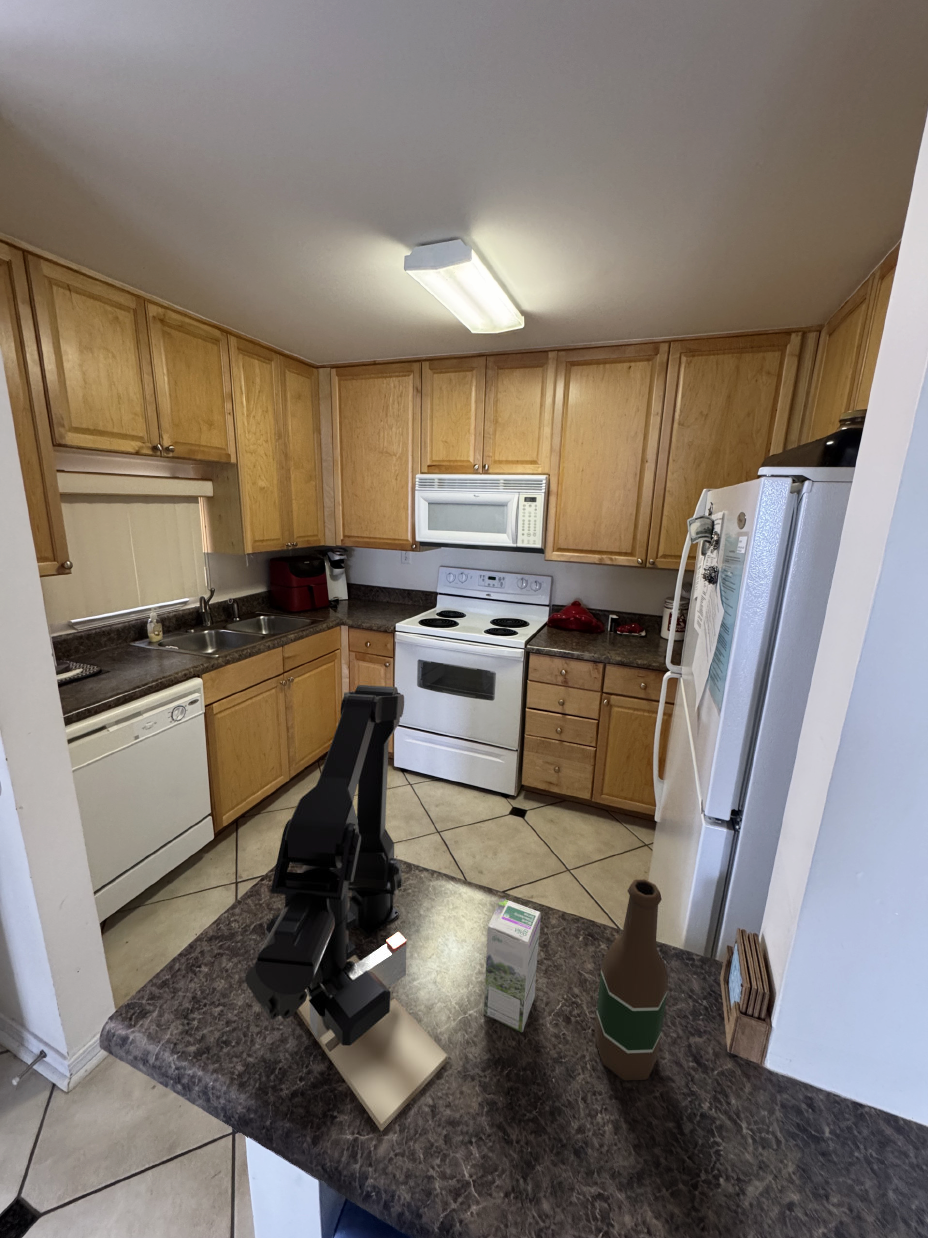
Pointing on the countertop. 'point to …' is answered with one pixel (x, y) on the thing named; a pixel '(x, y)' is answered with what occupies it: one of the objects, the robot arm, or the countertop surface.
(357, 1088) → the post board
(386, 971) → the grey rectangular bar
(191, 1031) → the countertop surface
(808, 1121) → the countertop surface
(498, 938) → the syrup box
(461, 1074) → the countertop surface
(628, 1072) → the beer bottle
